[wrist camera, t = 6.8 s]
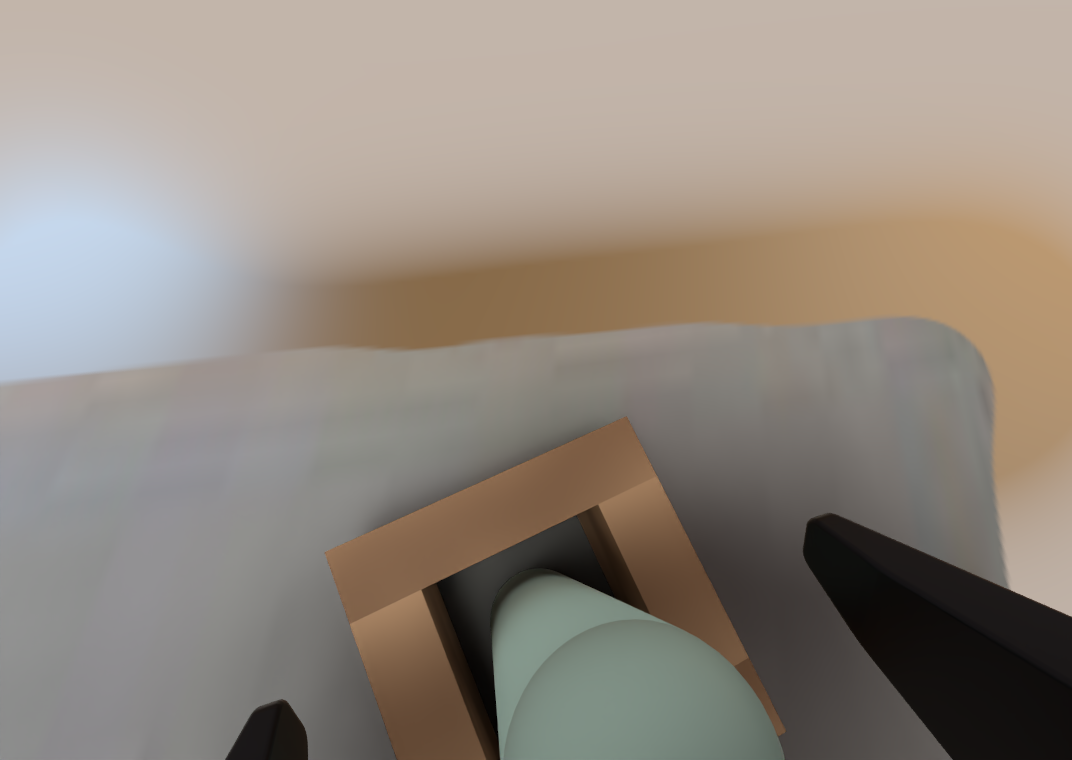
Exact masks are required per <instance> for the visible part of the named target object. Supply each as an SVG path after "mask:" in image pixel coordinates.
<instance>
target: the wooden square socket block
mask: <svg viewBox="0 0 1072 760" xmlns="http://www.w3.org/2000/svg"><path fill="white" fill-rule="evenodd" d="M575 515H577V517H578V519H579V521H580V523H581V525H582V528H583V530H584V532H585V534H586V536H587V538H588V541H589V543H590V545H591V547H592V549H593V551H594V553H595V556H596V558H597V560H598V562H599V564H600V566H601V569H602V571H603V573H604V575H605V577H606V579H607V582H608V584H609V586H610V588H611V590H612V592H613V594H614V597H615V599H617V600H619V601H621V602H624V603H626V604H628V605H630V606H632V607H634V608H637V609H639V610H641V611H643V612H645V613H648V614H650V615H652V616H654V617H656V618H658V619H661V620H663V621H665V622H667V623H669V624H672V625H674V626H676V627H678V628H680V629H682V630H684V631H686V632H688V633H690V634H692V635H694V636H696V637H698V638H699V639H701V640H702V641H704V642H705V643H706V644H708V645H709V646H711V647H712V648H713V649H715V650H716V651H718V652H719V653H720V654H721V655H722V656H723V657H724V658H726V659H727V660H728V661H729V662H730V663H731V664H732V665H733V666H734V667H735V668H736V670H737V671H738V672H739V673H740V674H741V675H742V677H743V678H744V679H745V680H746V681H747V683H748V684H749V685H750V686H751V688H752V689H753V691H754V692H755V694H756V695H757V697H758V698H759V700H760V701H761V703H762V705H763V707H764V708H765V710H766V712H767V714H768V716H769V718H770V720H771V722H772V724H773V726H774V729H775V731H776V734H777V736H780V735H781V734H783V733H785V732H786V730H785V728H784V726H783V724H782V722H781V720H780V718H779V716H778V714H777V712H776V710H775V708H774V706H773V704H772V702H771V700H770V698H769V696H768V694H767V692H766V690H765V688H764V686H763V684H762V682H761V680H760V678H759V676H758V675H757V673H756V671H755V669H754V667H753V665H752V663H751V661H750V659H749V657H748V655H747V653H746V651H745V649H744V647H743V645H742V643H741V641H740V639H739V637H738V635H737V633H736V631H735V629H734V627H733V625H732V623H731V621H730V619H729V617H728V615H727V613H726V611H725V609H724V607H723V605H722V603H721V602H720V600H719V598H718V596H717V594H716V592H715V590H714V588H713V586H712V584H711V582H710V580H709V578H708V576H707V574H706V572H705V570H704V568H703V566H702V564H701V562H700V560H699V558H698V556H697V554H696V552H695V550H694V548H693V546H692V544H691V542H690V540H689V538H688V536H687V534H686V532H685V531H684V529H683V527H682V525H681V523H680V521H679V519H678V517H677V515H676V513H675V511H674V509H673V507H672V505H671V503H670V501H669V499H668V497H667V495H666V493H665V491H664V489H663V487H662V485H661V483H660V481H659V479H658V477H657V475H656V473H655V471H654V469H653V467H652V465H651V463H650V461H649V459H648V458H647V456H646V454H645V452H644V450H643V448H642V446H641V444H640V442H639V440H638V438H637V436H636V434H635V432H634V430H633V428H632V426H631V424H630V422H629V420H628V418H627V416H626V417H624V418H622V419H619V420H617V421H615V422H613V423H611V424H608V425H606V426H604V427H602V428H599V429H597V430H595V431H593V432H591V433H588V434H586V435H584V436H582V437H579V438H577V439H575V440H573V441H571V442H568V443H566V444H564V445H562V446H559V447H557V448H555V449H553V450H551V451H548V452H546V453H544V454H542V455H540V456H537V457H535V458H533V459H531V460H528V461H526V462H524V463H522V464H520V465H517V466H515V467H513V468H511V469H508V470H506V471H504V472H502V473H500V474H497V475H495V476H493V477H491V478H488V479H486V480H484V481H482V482H480V483H477V484H475V485H473V486H471V487H468V488H466V489H464V490H462V491H460V492H457V493H455V494H453V495H451V496H448V497H446V498H444V499H442V500H440V501H437V502H435V503H433V504H431V505H429V506H426V507H424V508H422V509H420V510H417V511H415V512H413V513H411V514H409V515H406V516H404V517H402V518H400V519H397V520H395V521H393V522H391V523H389V524H386V525H384V526H382V527H380V528H377V529H375V530H373V531H371V532H369V533H366V534H364V535H362V536H360V537H357V538H355V539H353V540H351V541H349V542H346V543H344V544H342V545H340V546H337V547H335V548H333V549H331V550H329V551H326V552H325V555H326V558H327V560H328V563H329V566H330V569H331V572H332V575H333V578H334V581H335V583H336V586H337V589H338V592H339V595H340V598H341V601H342V603H343V606H344V609H345V612H346V615H347V618H348V621H349V624H350V626H351V629H352V632H353V635H354V638H355V641H356V644H357V647H358V649H359V652H360V655H361V658H362V661H363V664H364V667H365V669H366V672H367V675H368V678H369V681H370V684H371V687H372V690H373V692H374V695H375V698H376V701H377V704H378V707H379V710H380V712H381V715H382V718H383V721H384V724H385V727H386V730H387V733H388V735H389V738H390V741H391V744H392V747H393V750H394V753H395V756H396V758H397V760H500V747H499V741H498V739H497V737H496V734H495V732H494V729H493V727H492V724H491V722H490V719H489V716H488V714H487V711H486V709H485V706H484V704H483V701H482V699H481V696H480V693H479V691H478V688H477V686H476V683H475V681H474V678H473V676H472V673H471V670H470V668H469V665H468V663H467V660H466V658H465V655H464V653H463V650H462V647H461V645H460V642H459V640H458V637H457V635H456V632H455V630H454V627H453V624H452V622H451V619H450V617H449V614H448V612H447V609H446V607H445V604H444V601H443V599H442V596H441V594H440V591H439V589H438V586H437V584H436V582H438V581H440V580H442V579H444V578H446V577H448V576H451V575H453V574H455V573H457V572H459V571H461V570H463V569H465V568H467V567H469V566H471V565H473V564H475V563H478V562H480V561H482V560H484V559H486V558H488V557H490V556H492V555H494V554H496V553H498V552H500V551H502V550H504V549H507V548H509V547H511V546H513V545H515V544H517V543H519V542H521V541H523V540H525V539H527V538H529V537H531V536H534V535H536V534H538V533H540V532H542V531H544V530H546V529H548V528H550V527H552V526H554V525H556V524H558V523H561V522H563V521H565V520H567V519H569V518H571V517H573V516H575Z"/></svg>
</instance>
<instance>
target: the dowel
mask: <svg viewBox="0 0 1072 760" xmlns="http://www.w3.org/2000/svg"><path fill="white" fill-rule="evenodd" d="M490 627H491V641H492V654H493V667H494V681H495V694H496V707H497V721H498V734H499V747H500V760H785V757H784V754H783V750H782V747H781V744H780V742H779V739H778V736H777V734H776V731H775V729H774V726H773V724H772V722H771V720H770V718H769V716H768V714H767V712H766V710H765V708H764V707H763V705H762V703H761V701H760V700H759V698H758V697H757V695H756V694H755V692H754V691H753V689H752V688H751V686H750V685H749V684H748V683H747V681H746V680H745V679H744V678H743V677H742V675H741V674H740V673H739V672H738V671H737V670H736V668H735V667H734V666H733V665H732V664H731V663H730V662H729V661H728V660H727V659H726V658H724V657H723V656H722V655H721V654H720V653H719V652H718V651H716V650H715V649H713V648H712V647H711V646H709V645H708V644H706V643H705V642H704V641H702V640H701V639H699V638H698V637H696V636H694V635H692V634H690V633H688V632H686V631H684V630H682V629H680V628H678V627H676V626H674V625H672V624H669V623H667V622H665V621H663V620H661V619H658V618H656V617H654V616H652V615H650V614H648V613H645V612H643V611H641V610H639V609H637V608H634V607H632V606H630V605H628V604H626V603H624V602H621V601H619V600H617V599H615V598H613V597H611V596H608V595H606V594H604V593H602V592H600V591H597V590H595V589H593V588H591V587H589V586H587V585H584V584H582V583H580V582H578V581H576V580H573V579H571V578H569V577H567V576H565V575H563V574H560V573H558V572H556V571H553V570H549V569H543V568H536V569H529V570H526V571H523V572H520V573H518V574H516V575H515V576H513V577H512V578H510V579H509V580H508V581H507V582H506V583H505V584H504V585H503V587H502V588H501V589H500V591H499V592H498V594H497V596H496V598H495V600H494V603H493V606H492V610H491V617H490Z"/></svg>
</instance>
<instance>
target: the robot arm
mask: <svg viewBox="0 0 1072 760" xmlns="http://www.w3.org/2000/svg"><path fill="white" fill-rule="evenodd" d="M803 555H804V558H805V561H806V563H807V564H808V566H809V568H810V569H811V571H812V572H813V574H814V575H815V577H816V578H817V580H818V581H819V583H820V584H821V586H822V587H823V589H824V590H825V592H826V593H827V595H828V596H829V598H830V599H831V601H832V603H833V604H834V606H835V607H836V609H837V610H838V612H839V613H840V615H841V616H842V618H843V619H844V621H845V622H846V624H847V625H848V627H849V628H850V630H851V631H852V633H853V634H854V636H855V637H856V638H857V640H858V641H859V643H860V644H861V645H862V647H863V648H864V649H865V650H866V652H867V653H868V654H869V656H870V657H871V658H872V659H873V661H874V662H875V663H876V664H877V666H878V667H879V668H880V669H881V671H882V672H883V673H884V674H885V676H886V677H887V678H888V679H889V681H890V682H891V683H892V684H893V686H894V687H895V688H896V689H897V691H898V692H899V693H900V694H901V696H902V697H903V698H904V699H905V701H906V702H907V703H908V704H909V706H910V707H911V708H912V709H913V711H914V712H915V713H916V714H917V716H918V717H919V718H920V719H921V721H922V722H923V723H924V724H925V726H926V727H927V728H928V729H929V731H930V732H931V733H932V734H933V736H934V737H935V738H936V739H937V741H938V742H939V743H940V744H941V746H942V747H943V748H944V749H945V751H946V752H947V753H948V754H949V756H950V757H951V758H952V759H953V760H1072V617H1071V616H1068V615H1066V614H1064V613H1062V612H1059V611H1057V610H1055V609H1052V608H1050V607H1048V606H1046V605H1043V604H1041V603H1038V602H1036V601H1034V600H1032V599H1029V598H1027V597H1025V596H1023V595H1020V594H1018V593H1015V592H1013V591H1011V590H1009V589H1006V588H1004V587H1002V586H1000V585H997V584H995V583H993V582H990V581H988V580H986V579H983V578H981V577H979V576H977V575H974V574H972V573H970V572H967V571H965V570H963V569H960V568H958V567H956V566H954V565H951V564H949V563H947V562H944V561H942V560H940V559H937V558H935V557H933V556H931V555H928V554H926V553H924V552H921V551H919V550H917V549H914V548H912V547H910V546H908V545H905V544H903V543H901V542H898V541H896V540H894V539H891V538H889V537H887V536H885V535H882V534H880V533H878V532H875V531H873V530H871V529H868V528H866V527H864V526H862V525H859V524H857V523H855V522H852V521H850V520H848V519H845V518H843V517H841V516H839V515H836V514H832V513H826V514H823V515H820V516H817V517H814V518H811V519H810V520H809V521H808V522H807V526H806V533H805V539H804V545H803ZM225 760H308V743H307V735H306V731H305V728H304V726H303V724H302V723H301V721H300V720H299V718H298V717H297V715H296V714H295V712H294V711H293V709H292V708H291V706H290V705H289V703H288V702H287V701H285V700H283V699H281V700H277V701H274V702H271V703H268V704H265V705H263V706H260V707H258V708H257V709H255V710H254V711H253V713H252V714H251V715H250V717H249V719H248V721H247V722H246V724H245V726H244V728H243V729H242V731H241V733H240V735H239V736H238V738H237V740H236V742H235V743H234V745H233V747H232V749H231V750H230V752H229V754H228V756H227V757H226V759H225Z"/></svg>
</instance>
